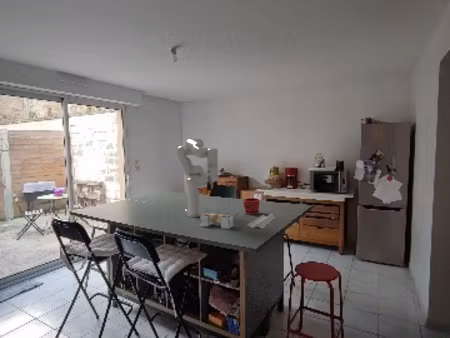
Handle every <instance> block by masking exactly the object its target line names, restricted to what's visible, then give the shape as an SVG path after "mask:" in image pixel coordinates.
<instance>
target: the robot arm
mask: <svg viewBox="0 0 450 338" xmlns="http://www.w3.org/2000/svg"><path fill="white" fill-rule="evenodd" d="M204 145H205V144H204V141H203V140H202V139H201V138H189V139H187V140H186V141H185V145H180V146H178V147H177V148H176V155H177V158H178V161H179V162H180V164H181V167H182V169H183V171H184V174H185V177H187V179H186V182H185V183H186V187H187V201H188V203H187V204H188V207H187V209H185V210H184V213H186V216H187V217H188V218H189V217H191V218H197V217H200V215H202V214H203V213H202V212H201V194H200V193H201V192H200V191H199V190H198V189H199V188H201V189H202V188H203V189H204V188H206V190H207V191H212V187H213V189H217V188H218V182H219V181H218V180H219V168H218V167H219V166H218V165H219V162H218V161H219V160H218V158H219V151H218V148H215V147H204ZM188 156H194V157H196V158H198V159H207V160H206V161H207V165H206V167H207V170H206V172H205V170H204V167H202V166H201V165H200V164H199V165H197V164H195V165H194V164H193V162H192V160H191V158H189V157H188ZM212 182H213V183H212Z"/></svg>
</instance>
